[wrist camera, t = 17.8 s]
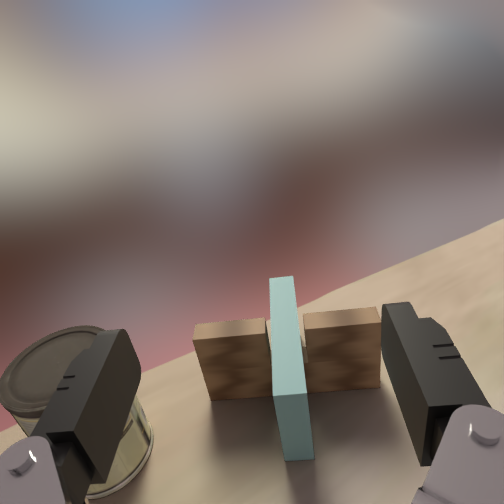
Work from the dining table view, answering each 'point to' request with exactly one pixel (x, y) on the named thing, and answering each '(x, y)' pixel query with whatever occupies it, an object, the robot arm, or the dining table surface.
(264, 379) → the base plate
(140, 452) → the coffee can
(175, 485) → the dining table surface
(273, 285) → the cross plate
